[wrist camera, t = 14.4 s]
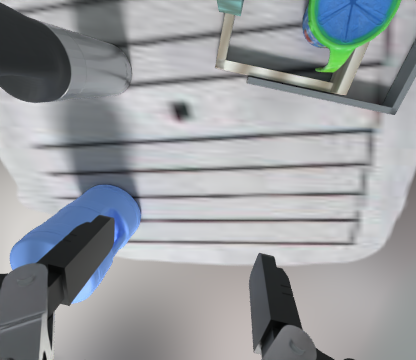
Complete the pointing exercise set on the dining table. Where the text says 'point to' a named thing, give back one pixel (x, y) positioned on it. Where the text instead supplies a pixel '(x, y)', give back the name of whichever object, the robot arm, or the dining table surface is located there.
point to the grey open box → (339, 83)
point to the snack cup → (345, 25)
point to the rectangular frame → (410, 69)
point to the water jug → (76, 215)
